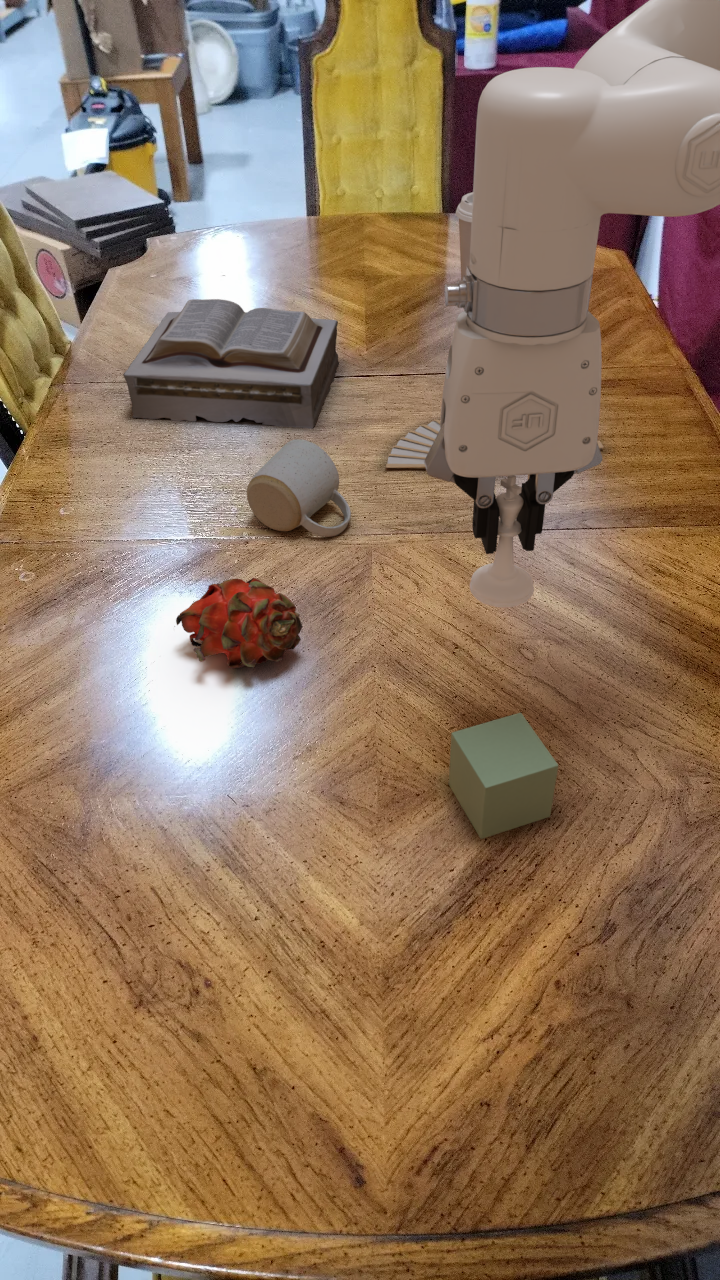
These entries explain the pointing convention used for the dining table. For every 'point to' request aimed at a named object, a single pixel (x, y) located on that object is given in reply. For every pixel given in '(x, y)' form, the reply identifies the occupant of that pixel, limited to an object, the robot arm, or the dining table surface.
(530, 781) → the block
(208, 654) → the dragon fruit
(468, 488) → the robot arm
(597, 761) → the dining table surface
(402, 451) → the hand fan
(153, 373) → the bible
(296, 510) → the ceramic mug
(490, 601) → the chess piece
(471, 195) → the coffee cup
